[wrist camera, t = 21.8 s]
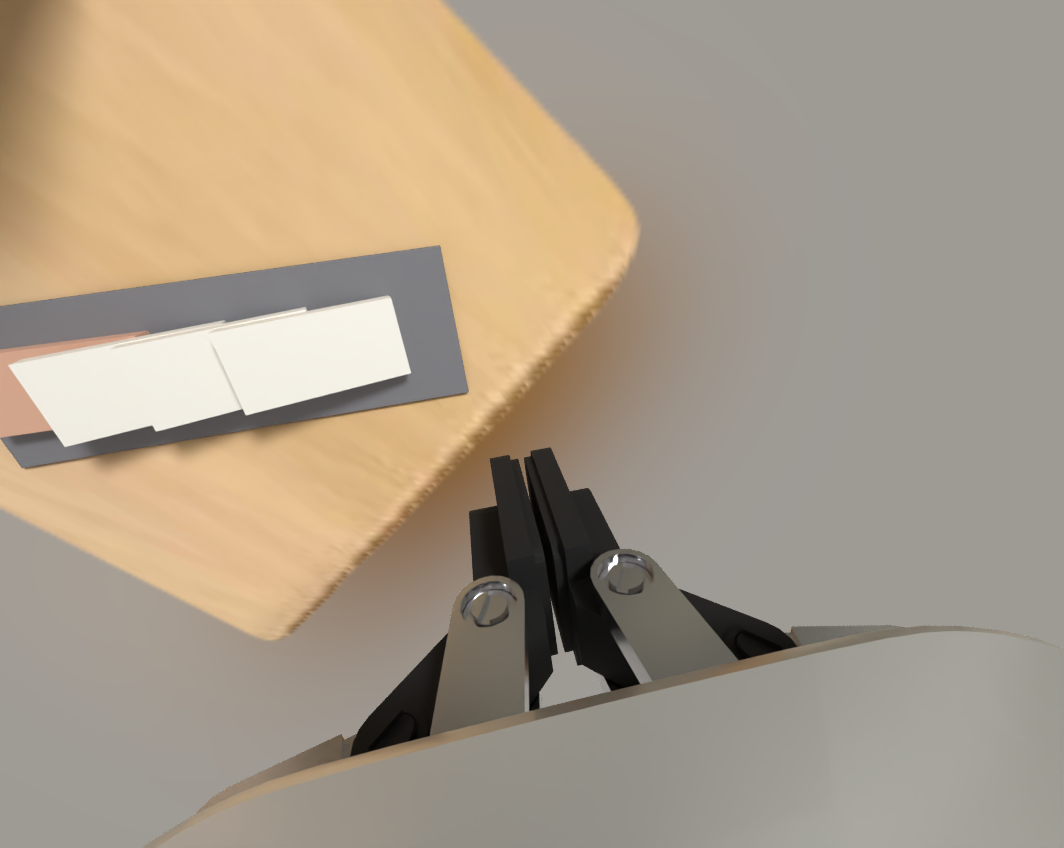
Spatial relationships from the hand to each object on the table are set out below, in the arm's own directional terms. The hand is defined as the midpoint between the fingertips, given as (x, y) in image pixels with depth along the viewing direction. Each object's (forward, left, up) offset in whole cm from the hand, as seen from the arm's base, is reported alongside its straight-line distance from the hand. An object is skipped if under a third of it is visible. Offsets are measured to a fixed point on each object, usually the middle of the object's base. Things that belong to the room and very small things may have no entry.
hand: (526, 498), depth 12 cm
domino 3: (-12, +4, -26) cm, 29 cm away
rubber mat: (-19, +6, -27) cm, 34 cm away
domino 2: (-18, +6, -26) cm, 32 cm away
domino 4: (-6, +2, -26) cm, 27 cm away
